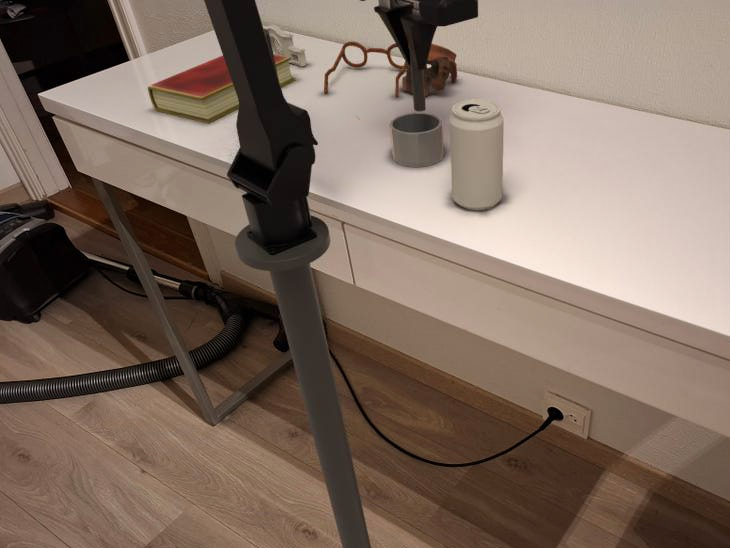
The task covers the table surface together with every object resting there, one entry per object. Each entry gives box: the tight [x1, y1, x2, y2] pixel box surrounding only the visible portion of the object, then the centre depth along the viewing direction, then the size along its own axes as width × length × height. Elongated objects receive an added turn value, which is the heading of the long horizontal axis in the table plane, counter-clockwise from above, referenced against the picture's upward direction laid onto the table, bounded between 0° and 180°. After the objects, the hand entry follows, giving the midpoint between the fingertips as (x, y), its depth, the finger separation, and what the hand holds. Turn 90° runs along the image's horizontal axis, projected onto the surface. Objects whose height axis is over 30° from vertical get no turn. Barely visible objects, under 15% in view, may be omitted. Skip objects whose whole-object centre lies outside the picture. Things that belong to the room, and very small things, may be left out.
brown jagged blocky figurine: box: [401, 43, 458, 97], centre depth 114 cm, size 12×10×8 cm
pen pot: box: [388, 112, 445, 168], centre depth 94 cm, size 7×7×5 cm
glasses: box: [323, 41, 407, 98], centre depth 116 cm, size 13×13×5 cm
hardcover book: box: [147, 54, 296, 124], centre depth 113 cm, size 12×21×4 cm, turn 152°
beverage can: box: [448, 98, 505, 211], centre depth 82 cm, size 6×6×12 cm
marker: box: [408, 44, 427, 113], centre depth 88 cm, size 2×2×9 cm
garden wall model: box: [263, 24, 307, 67], centre depth 125 cm, size 12×2×6 cm, turn 50°
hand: (416, 67), depth 88 cm, fingers closed on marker, 2 cm apart
